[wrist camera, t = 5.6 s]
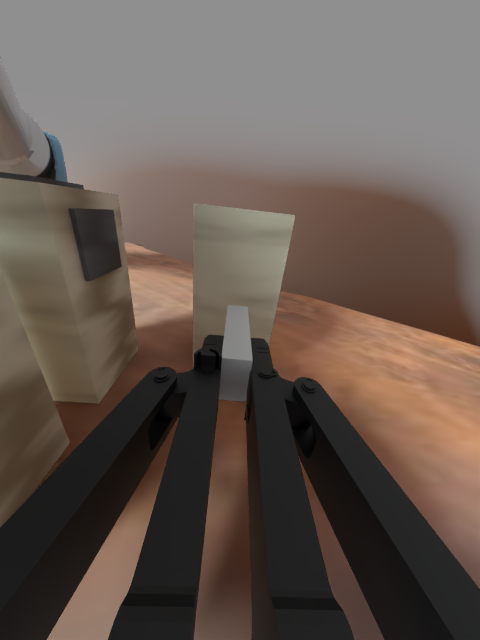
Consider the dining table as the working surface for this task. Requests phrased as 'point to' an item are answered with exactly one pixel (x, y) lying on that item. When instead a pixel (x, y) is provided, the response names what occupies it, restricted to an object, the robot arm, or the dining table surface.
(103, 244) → the marked block 1
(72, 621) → the dining table surface
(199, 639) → the dining table surface
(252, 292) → the plain block
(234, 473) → the dining table surface
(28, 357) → the marked block 2
